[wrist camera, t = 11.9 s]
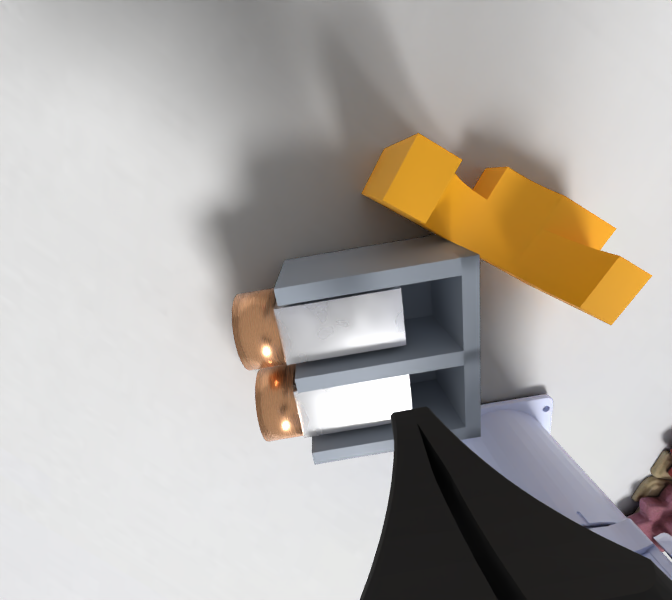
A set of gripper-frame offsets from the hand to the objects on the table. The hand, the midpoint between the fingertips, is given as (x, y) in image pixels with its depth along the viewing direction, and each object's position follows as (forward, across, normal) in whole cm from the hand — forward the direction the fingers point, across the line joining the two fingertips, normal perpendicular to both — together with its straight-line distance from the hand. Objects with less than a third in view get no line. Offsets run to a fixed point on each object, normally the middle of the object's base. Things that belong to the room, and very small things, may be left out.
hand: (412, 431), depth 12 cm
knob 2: (+9, +3, +2) cm, 9 cm away
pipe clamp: (+10, -7, -6) cm, 14 cm away
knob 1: (+9, +3, -2) cm, 9 cm away
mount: (+10, 0, 0) cm, 10 cm away
